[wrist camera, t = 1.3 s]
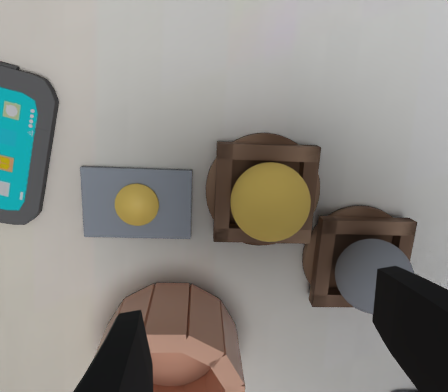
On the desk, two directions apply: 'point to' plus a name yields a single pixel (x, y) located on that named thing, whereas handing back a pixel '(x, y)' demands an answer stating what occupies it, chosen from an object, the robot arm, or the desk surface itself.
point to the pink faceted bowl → (187, 338)
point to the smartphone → (24, 142)
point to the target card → (136, 202)
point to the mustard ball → (270, 202)
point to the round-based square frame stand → (246, 158)
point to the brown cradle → (343, 237)
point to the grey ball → (366, 270)
